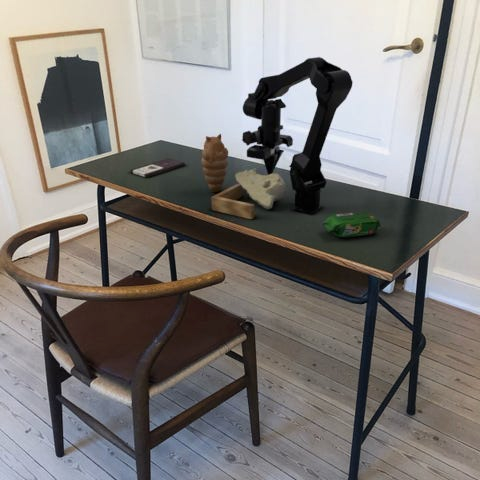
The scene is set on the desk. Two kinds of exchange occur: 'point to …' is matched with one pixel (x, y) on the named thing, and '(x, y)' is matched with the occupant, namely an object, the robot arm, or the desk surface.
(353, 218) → the snack package
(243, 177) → the pale lumpy rock
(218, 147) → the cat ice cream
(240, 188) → the corner stop
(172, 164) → the chocolate bar
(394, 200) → the desk surface
